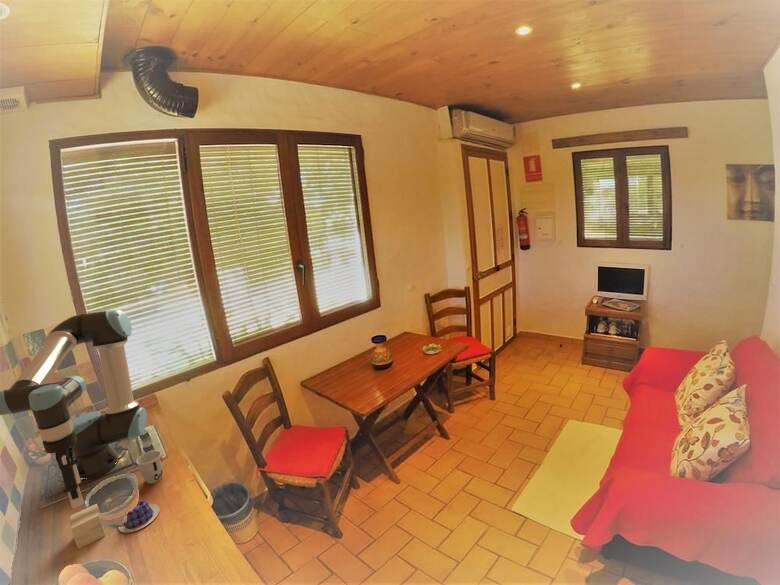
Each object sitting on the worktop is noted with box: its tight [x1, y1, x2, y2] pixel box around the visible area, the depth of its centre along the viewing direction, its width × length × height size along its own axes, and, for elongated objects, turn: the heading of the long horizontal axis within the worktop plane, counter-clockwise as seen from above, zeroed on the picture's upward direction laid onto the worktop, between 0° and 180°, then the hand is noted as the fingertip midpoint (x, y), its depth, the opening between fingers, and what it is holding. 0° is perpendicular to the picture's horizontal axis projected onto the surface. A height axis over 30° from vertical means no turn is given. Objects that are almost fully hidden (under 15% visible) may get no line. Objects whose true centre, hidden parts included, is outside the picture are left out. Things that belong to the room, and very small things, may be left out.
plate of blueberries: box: [117, 500, 160, 534], centre depth 127 cm, size 12×12×5 cm
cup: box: [136, 449, 164, 484], centre depth 146 cm, size 8×8×10 cm
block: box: [69, 503, 106, 550], centre depth 122 cm, size 7×7×8 cm
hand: (77, 494), depth 118 cm, fingers open, 13 cm apart
